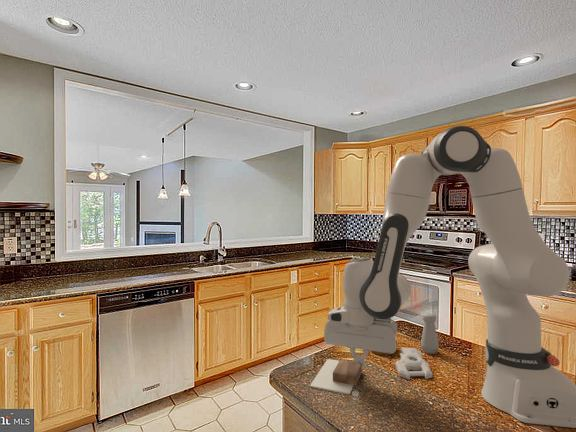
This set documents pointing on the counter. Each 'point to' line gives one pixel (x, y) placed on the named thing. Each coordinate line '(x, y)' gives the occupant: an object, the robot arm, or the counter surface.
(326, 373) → the mat
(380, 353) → the burger
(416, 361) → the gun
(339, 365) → the block
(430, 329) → the salt shaker
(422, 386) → the counter surface
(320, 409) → the counter surface
